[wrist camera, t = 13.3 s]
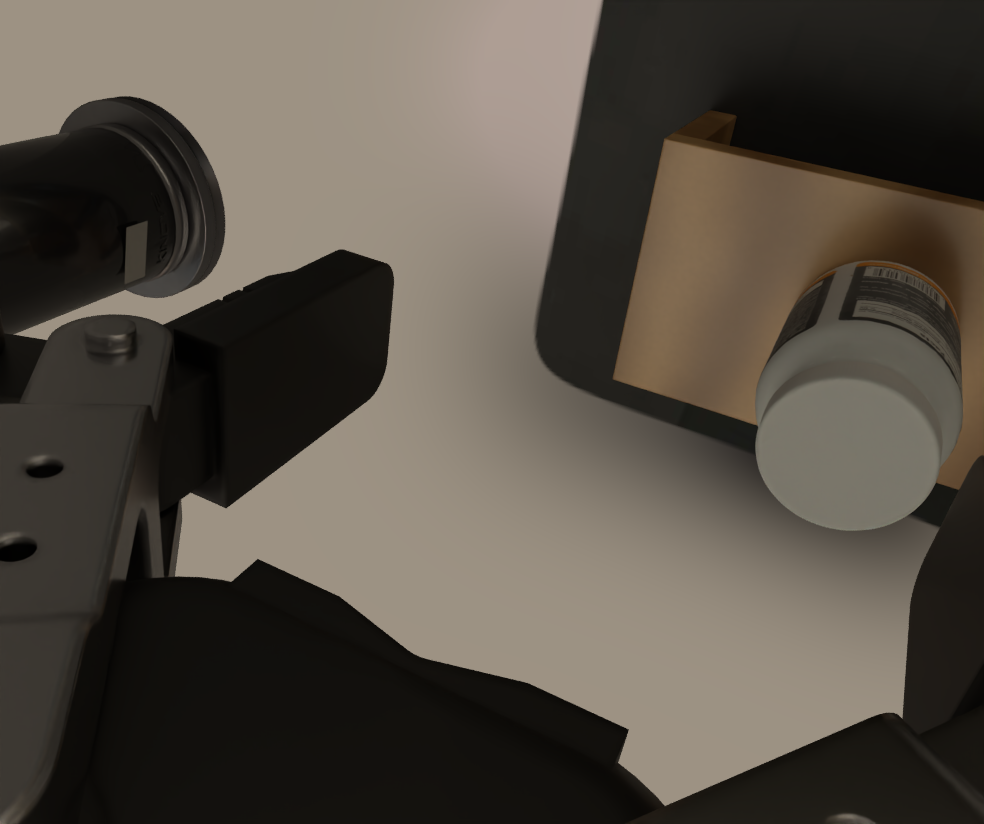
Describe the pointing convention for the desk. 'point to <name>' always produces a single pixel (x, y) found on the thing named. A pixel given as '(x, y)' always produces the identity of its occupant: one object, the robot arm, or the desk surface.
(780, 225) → the shelf
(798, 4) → the desk surface
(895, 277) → the pill bottle
